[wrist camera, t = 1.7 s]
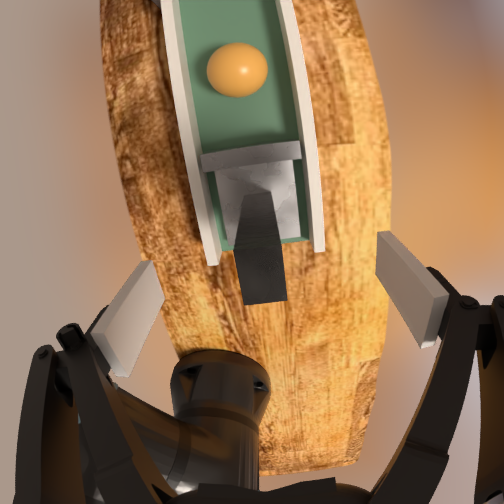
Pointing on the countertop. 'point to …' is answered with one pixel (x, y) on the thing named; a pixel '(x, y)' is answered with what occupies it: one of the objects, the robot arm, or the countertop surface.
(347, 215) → the countertop surface
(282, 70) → the board
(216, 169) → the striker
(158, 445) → the robot arm
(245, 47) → the ball
